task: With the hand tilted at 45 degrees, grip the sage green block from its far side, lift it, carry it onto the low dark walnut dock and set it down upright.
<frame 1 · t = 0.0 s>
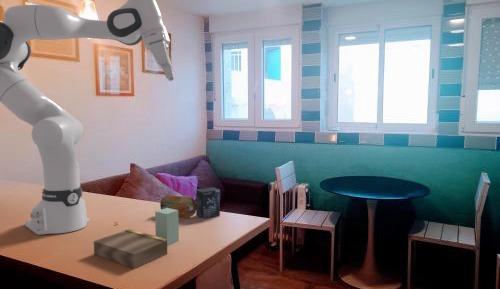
hand: (170, 79, 129), 52 cm above the table, tool tilted 20°, fingers open, 8 cm apart
tin: (178, 217, 144), on the table
box: (208, 216, 145), on the table
block: (167, 241, 117), on the table
dock: (130, 254, 106), on the table
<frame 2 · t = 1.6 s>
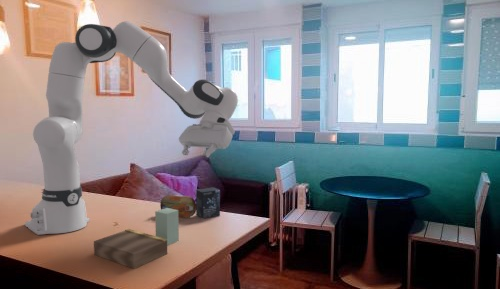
hand: (194, 155, 125), 26 cm above the table, tool tilted 45°, fingers open, 8 cm apart
nothing on the table moved.
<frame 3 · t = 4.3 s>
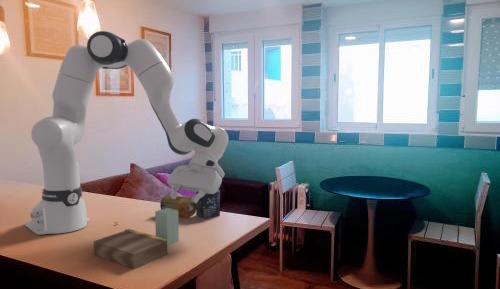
hand: (182, 199, 122), 12 cm above the table, tool tilted 45°, fingers open, 8 cm apart
nothing on the table moved.
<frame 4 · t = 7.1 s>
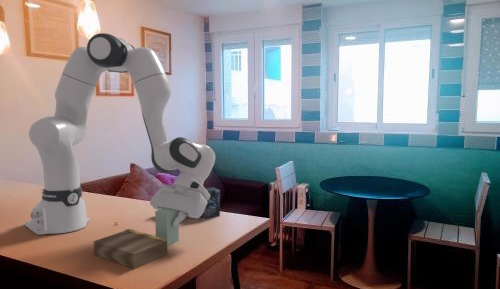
hand: (165, 224, 115), 6 cm above the table, tool tilted 45°, fingers closed on block, 5 cm apart
block: (167, 241, 117), on the table, touching gripper
everything else where it was.
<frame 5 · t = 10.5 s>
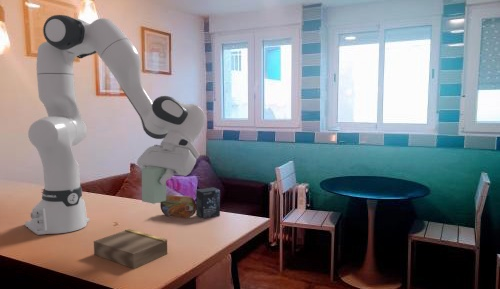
hand: (152, 182, 111), 20 cm above the table, tool tilted 45°, fingers closed on block, 5 cm apart
block: (154, 200, 112), point 14 cm above the table, touching gripper
everything else where it was.
when the fingers open (11 cm above the table, at t = 13.7 s): block drops 1 cm, resting on dock.
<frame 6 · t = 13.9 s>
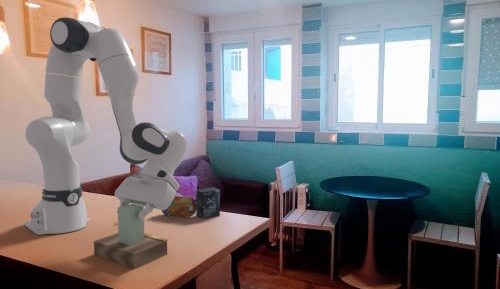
hand: (129, 216, 105), 11 cm above the table, tool tilted 45°, fingers open, 7 cm apart
block: (131, 241, 106), point 4 cm above the table, touching dock
everything else where it was.
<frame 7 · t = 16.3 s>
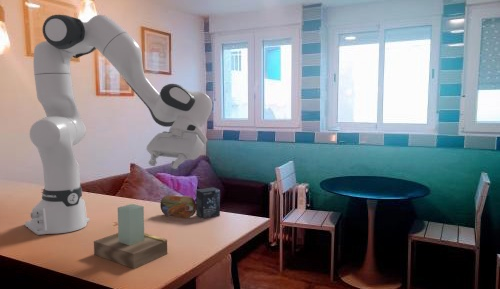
hand: (161, 166, 114), 24 cm above the table, tool tilted 45°, fingers open, 8 cm apart
nothing on the table moved.
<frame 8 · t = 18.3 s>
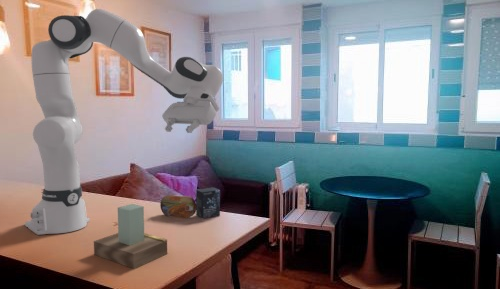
hand: (177, 131, 123), 34 cm above the table, tool tilted 45°, fingers open, 8 cm apart
nothing on the table moved.
at the end: block inside the target area on the dock (0.1 cm from its centre), point 4.0 cm above the dock's base; block tilted 0°; the gripper is holding nothing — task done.
